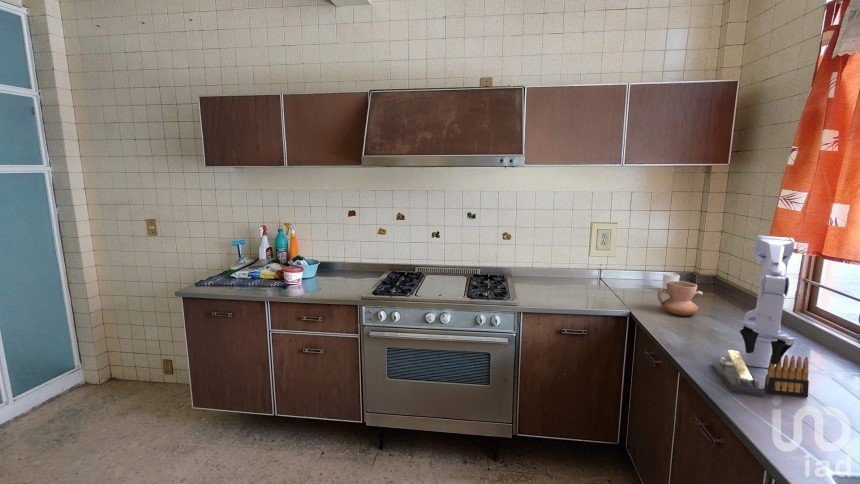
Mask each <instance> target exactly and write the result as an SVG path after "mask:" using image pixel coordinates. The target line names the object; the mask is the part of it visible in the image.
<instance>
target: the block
mask: <svg viewBox="0 0 860 484" xmlns="http://www.w3.org/2000/svg"><path fill="white" fill-rule="evenodd" d="M720 359H721V358H716V357H713V358H712V361H711V362H712V364H711V366H712V367H713V368H714V370H715V371H716V372H717V374H718V376H719V377H720V378H721V380H722V381H723V383H725V385H726V386H727V388H728V389H729V391H730V392H731V393H735V394H741V395H747V396H752V397H753V396H754V397H760V398H764V395H765V391H764V390H765V389H764V387H763V386H762V385H761V383H760V381H759V380H758V379H757V378H756V377H755V376H754V374H752V373H751V372H750V371H749V373H750V375H751V377H752V379H753V384H750V383H744V382H741V378H740V377H739V376H738V374H737V372H736V369H735V367H733V366H726V365H722V364H721V363H720ZM726 362H731V363H732V361H731V359H726Z"/></svg>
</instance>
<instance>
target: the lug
mask: <svg viewBox="0 0 860 484" xmlns="http://www.w3.org/2000/svg"><path fill="white" fill-rule="evenodd" d="M719 359H720V363H721V364H722V365H726V366H733V367H734V365H733V363H731V362H726V360H727V358H726V357H724V356H720V358H719Z"/></svg>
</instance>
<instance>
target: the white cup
mask: <svg viewBox="0 0 860 484" xmlns="http://www.w3.org/2000/svg"><path fill="white" fill-rule="evenodd" d="M662 275H663V276H662V288H665V289H667V281H680V278H681V275H680V274H678V273H676V272H663V274H662Z"/></svg>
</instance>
